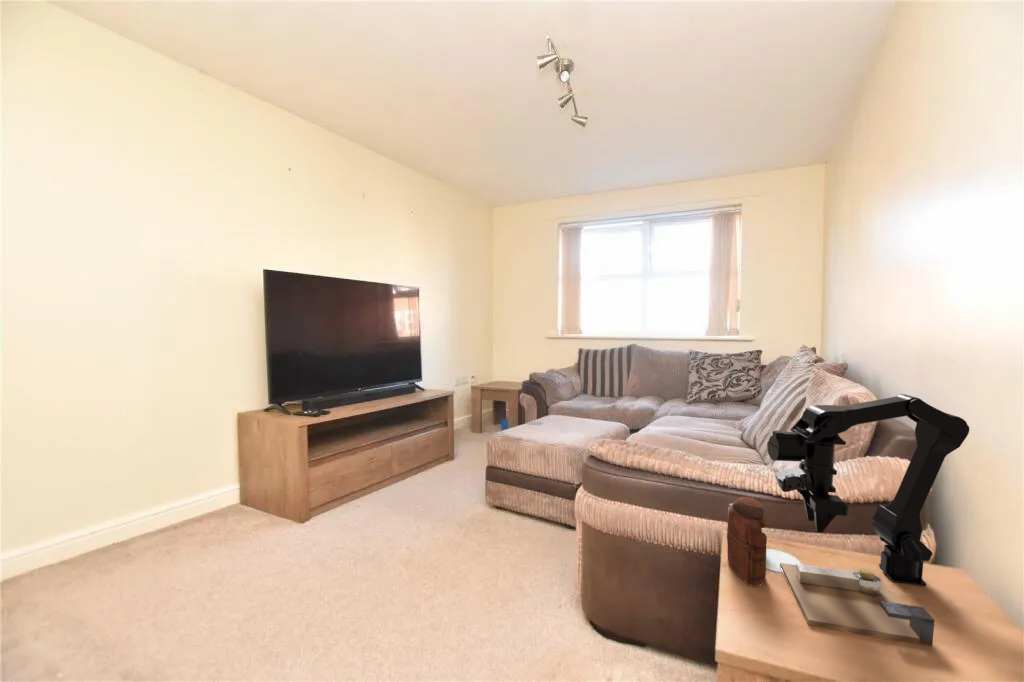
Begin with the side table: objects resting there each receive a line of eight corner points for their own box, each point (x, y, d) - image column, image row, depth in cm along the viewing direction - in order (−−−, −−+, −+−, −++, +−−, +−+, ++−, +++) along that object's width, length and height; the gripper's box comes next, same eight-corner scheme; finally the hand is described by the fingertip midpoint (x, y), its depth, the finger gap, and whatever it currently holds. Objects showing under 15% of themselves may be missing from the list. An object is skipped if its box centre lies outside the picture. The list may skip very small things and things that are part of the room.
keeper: (921, 633, 87) (923, 607, 87) (932, 646, 84) (934, 619, 83) (878, 626, 89) (879, 600, 89) (886, 639, 86) (888, 612, 85)
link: (873, 583, 100) (874, 572, 100) (884, 597, 95) (885, 585, 95) (794, 572, 104) (794, 561, 104) (801, 584, 100) (801, 573, 100)
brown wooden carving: (775, 587, 101) (779, 509, 100) (748, 588, 101) (751, 510, 99) (744, 557, 113) (747, 487, 111) (720, 558, 113) (722, 488, 111)
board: (879, 581, 103) (880, 560, 102) (932, 646, 84) (934, 620, 83) (779, 567, 108) (780, 547, 108) (808, 625, 89) (809, 601, 89)
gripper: (769, 445, 116) (766, 504, 117) (791, 473, 98) (787, 541, 99) (819, 449, 113) (815, 510, 114) (851, 478, 95) (847, 549, 96)
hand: (814, 526), depth 106 cm, fingers open, 5 cm apart
